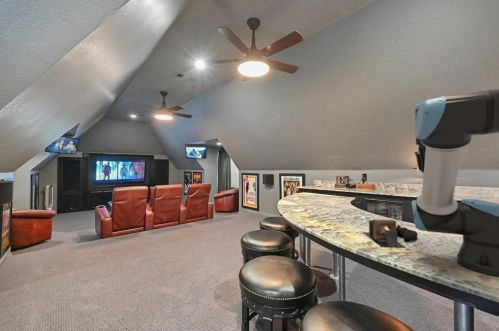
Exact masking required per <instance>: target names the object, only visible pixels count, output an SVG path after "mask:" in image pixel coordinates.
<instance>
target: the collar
mask: <svg viewBox="0 0 499 331" xmlns="http://www.w3.org/2000/svg"><path fill="white" fill-rule="evenodd" d="M372 220H373V238H374V239H375V240H386V235H385V234H383V233H381V226H386V227H388V228H390V230H394V231H396V227H397V221H396V220H395V219H372Z"/></svg>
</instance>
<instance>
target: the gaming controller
mask: <svg viewBox="0 0 499 331" xmlns="http://www.w3.org/2000/svg"><path fill="white" fill-rule="evenodd" d="M396 231H397V235H400V236H401V235H403V240H404V242H406V243H407V242H408V243H410V242H412V241H413V240H417V239H418V234H419V233H418V232H417V231H416V230H413V229H409V228H407V227H402V226H401V225H399V224H398V225H397V224H396Z"/></svg>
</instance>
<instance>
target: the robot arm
mask: <svg viewBox="0 0 499 331" xmlns="http://www.w3.org/2000/svg"><path fill="white" fill-rule="evenodd" d="M414 107H415V108H414V115H415V116H414V122H415V127H414V135H415V144H416V146H418V147H417V148H418V150H417V151H414V155H415V158H416V163H417V167H418V171H419V172H421V173H422V174H421V176H422V190H421V191H422V192H421V194H419V195H418V196H417V198H416V199H413V200H412V201H411V209H412V216H413V221H414V226H415V228H416V229H417V230H419V231H423V232H429V233H431V232H432V233H440V234H448V235H449V234H450V235H459V236H462V243H461V246H460V248H459V249H458V252H457V254H456V262H457V263H458V264H459V265H460V266H462V267H464V268H466V269H469V270H471V271H474V272H478V273H480V272H481V273H480V274H484V273H485V275H488V274H490V276H493V275H494V276H493V277H499V203H497V202H493V201H492V202H491V201H486V200H480V199H471V198H462V200H461V202H458V201H457V200H456V199H455V198H454V195H455V190H456V187H457V186H456V185H457V179H458V173H459V169H460V163H461V157H462V152H463V148H464V147H467V146H468V145H469V144H470V143H471V142H472V139H473V136H479V135H481V136H482V135H490V134H491V135H492V134H499V88H496V89H495V88H494V89H489V90H484V91H483V90H482V91H476V92H468V93H460V94H453V95H447V96H443V95H442V96H438V97H435V98H430V99H425V100H424V101H422V102H421V103H418V104H416V105H415V106H414Z"/></svg>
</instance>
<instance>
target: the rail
mask: <svg viewBox="0 0 499 331" xmlns="http://www.w3.org/2000/svg"><path fill="white" fill-rule="evenodd" d="M373 220H374V219H369V220H368V232H367V231H363V232H362V233H363V234H364V235H365V236H366V237H368V238H369V239H370V240H372V241H373V242H374V243H375V244H377V245H378V246H380V248H405V249H406V246H404V245H403V244H401V243H400V242H399V241H398V234H397V231H394V230H390V228H388V226H381V233H383V234H385V235H386V240H375V239H374V238H373Z"/></svg>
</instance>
